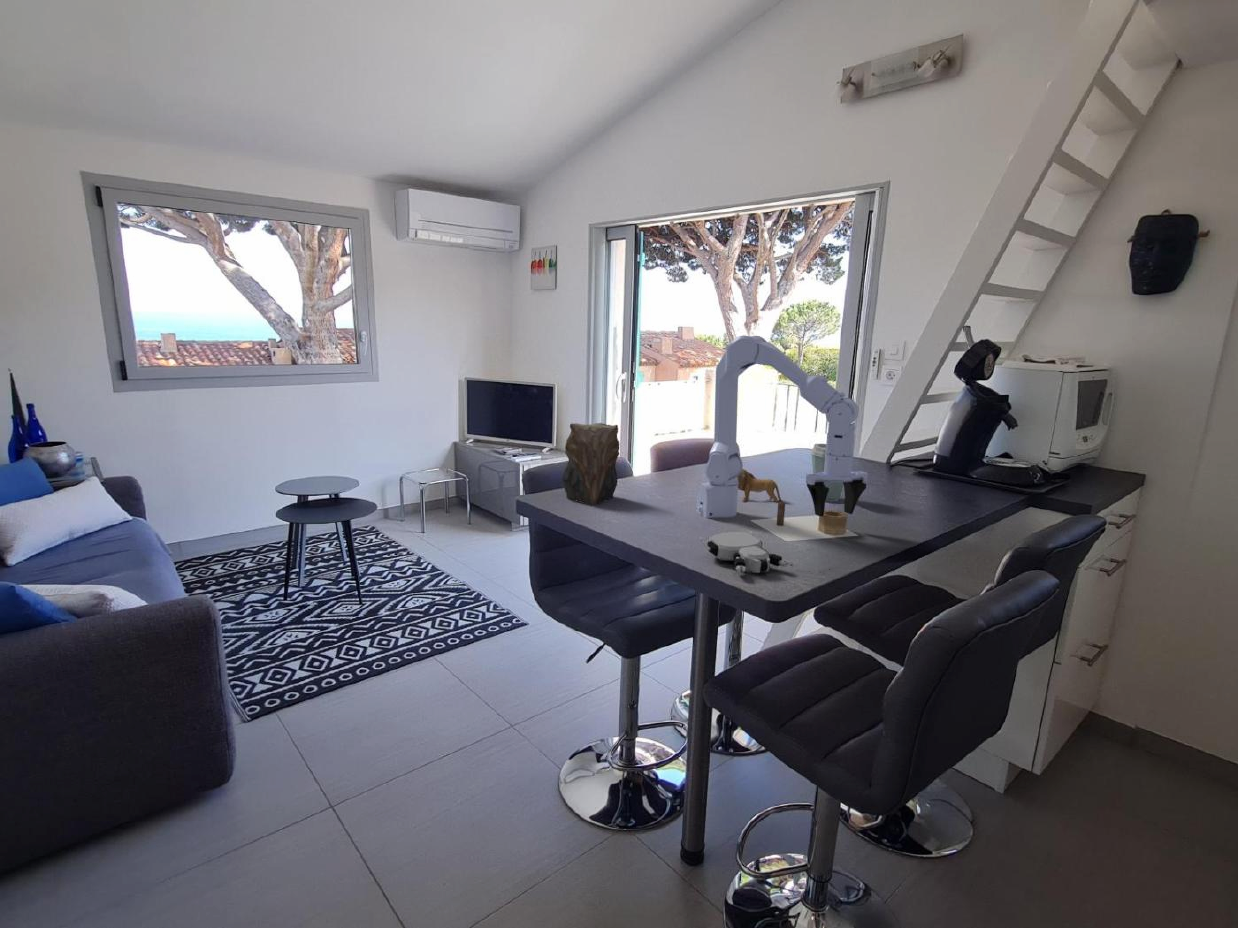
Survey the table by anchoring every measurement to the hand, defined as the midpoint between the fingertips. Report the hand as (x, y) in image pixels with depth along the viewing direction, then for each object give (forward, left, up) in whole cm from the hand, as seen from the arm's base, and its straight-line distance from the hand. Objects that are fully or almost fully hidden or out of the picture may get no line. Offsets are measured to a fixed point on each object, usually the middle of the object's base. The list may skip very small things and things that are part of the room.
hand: (833, 514), depth 142 cm
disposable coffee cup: (+19, +29, -5) cm, 35 cm away
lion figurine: (-3, +31, -6) cm, 31 cm away
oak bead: (0, 0, -4) cm, 4 cm away
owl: (-45, +43, -5) cm, 63 cm away
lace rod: (-9, +7, -4) cm, 12 cm away
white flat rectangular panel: (-5, +4, -5) cm, 8 cm away
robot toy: (-28, -11, -6) cm, 31 cm away
